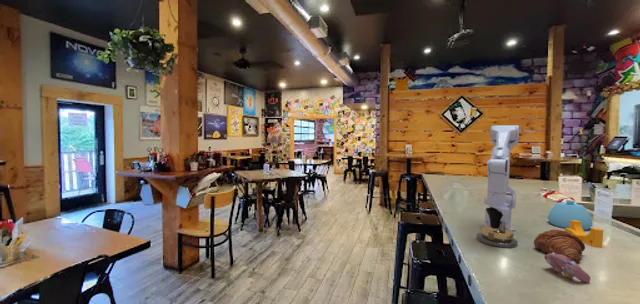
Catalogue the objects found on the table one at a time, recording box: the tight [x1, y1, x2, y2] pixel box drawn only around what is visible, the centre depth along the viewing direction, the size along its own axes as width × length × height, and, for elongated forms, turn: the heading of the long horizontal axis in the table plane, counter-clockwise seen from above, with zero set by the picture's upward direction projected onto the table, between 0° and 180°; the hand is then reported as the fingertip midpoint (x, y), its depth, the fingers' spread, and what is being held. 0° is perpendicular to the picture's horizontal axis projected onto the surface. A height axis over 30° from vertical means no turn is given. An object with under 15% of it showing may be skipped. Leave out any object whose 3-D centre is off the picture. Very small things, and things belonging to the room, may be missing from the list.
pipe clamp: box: [564, 220, 604, 248], centre depth 109 cm, size 12×4×6 cm, turn 174°
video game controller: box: [544, 252, 591, 284], centre depth 81 cm, size 10×5×7 cm, turn 5°
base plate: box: [476, 232, 519, 249], centre depth 108 cm, size 13×13×1 cm
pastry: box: [533, 229, 586, 264], centre depth 98 cm, size 17×15×8 cm
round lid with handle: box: [480, 221, 514, 242], centre depth 107 cm, size 10×10×7 cm
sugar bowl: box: [547, 199, 593, 231], centre depth 128 cm, size 15×15×12 cm
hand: (494, 228), depth 105 cm, fingers closed, pressing on round lid with handle
